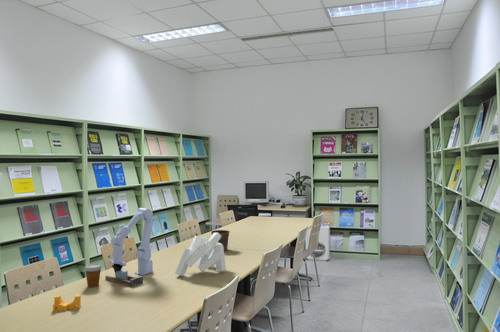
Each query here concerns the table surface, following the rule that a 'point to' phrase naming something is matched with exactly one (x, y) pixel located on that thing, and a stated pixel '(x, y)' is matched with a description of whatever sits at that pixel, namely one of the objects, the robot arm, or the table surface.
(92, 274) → the disposable coffee cup
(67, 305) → the pipe clamp
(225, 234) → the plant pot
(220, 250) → the pile of blocks
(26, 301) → the table surface
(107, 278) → the guide rail
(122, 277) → the block
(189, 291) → the table surface
